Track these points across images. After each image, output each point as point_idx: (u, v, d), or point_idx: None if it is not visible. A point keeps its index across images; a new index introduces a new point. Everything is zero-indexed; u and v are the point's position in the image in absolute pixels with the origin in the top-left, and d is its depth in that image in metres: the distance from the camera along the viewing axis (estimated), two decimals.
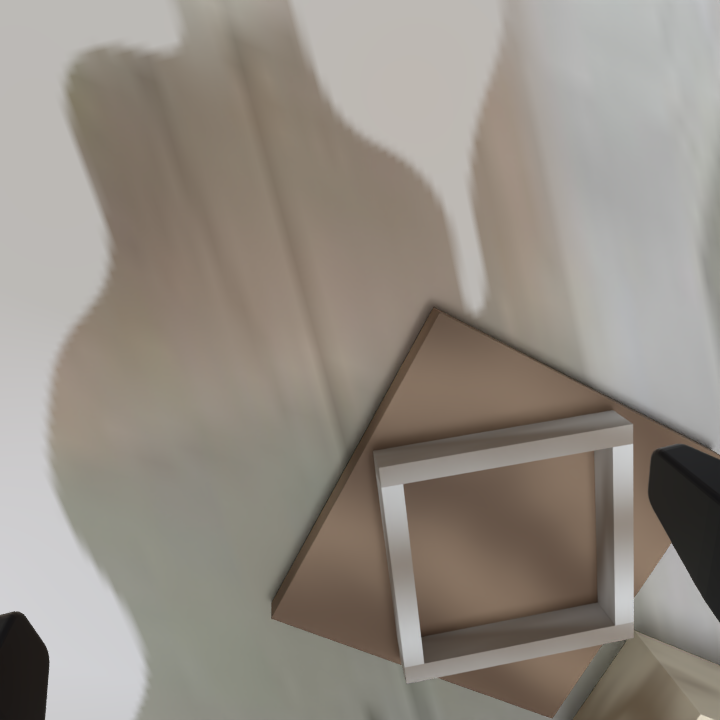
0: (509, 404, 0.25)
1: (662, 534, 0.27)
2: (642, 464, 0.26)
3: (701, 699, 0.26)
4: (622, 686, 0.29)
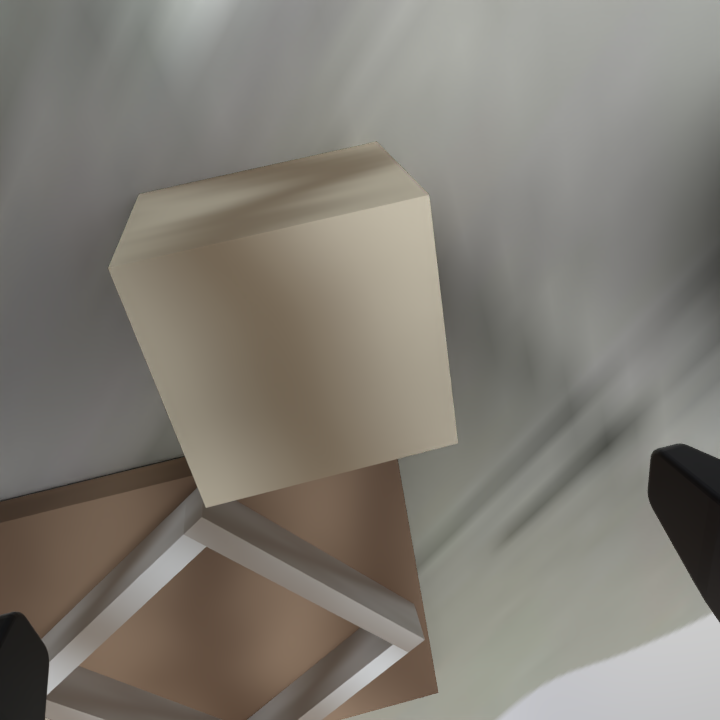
0: None
1: (67, 522, 0.19)
2: (28, 602, 0.20)
3: None
4: None
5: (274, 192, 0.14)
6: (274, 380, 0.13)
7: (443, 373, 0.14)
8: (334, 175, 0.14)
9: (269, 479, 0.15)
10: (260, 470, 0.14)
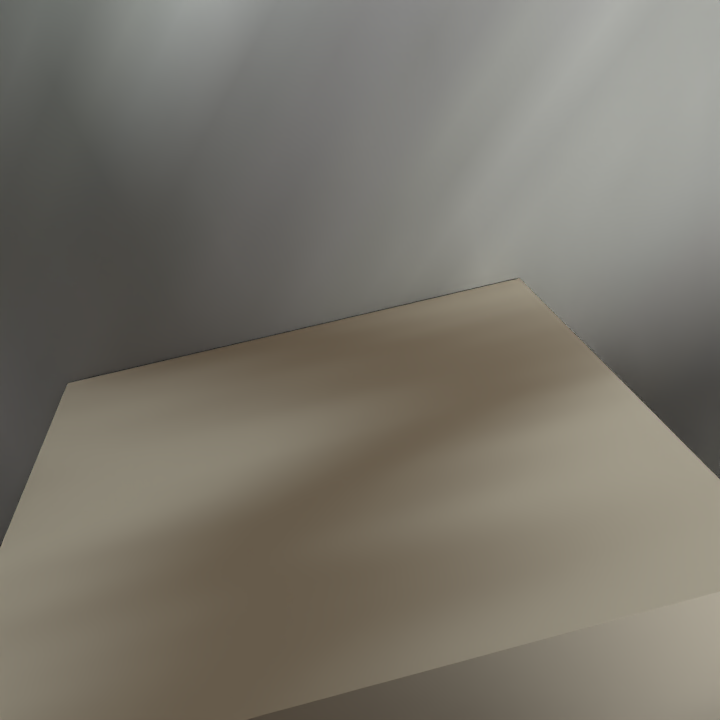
0: None
1: None
2: None
3: None
4: None
5: (344, 445, 0.06)
6: None
7: None
8: (475, 399, 0.06)
9: None
10: None
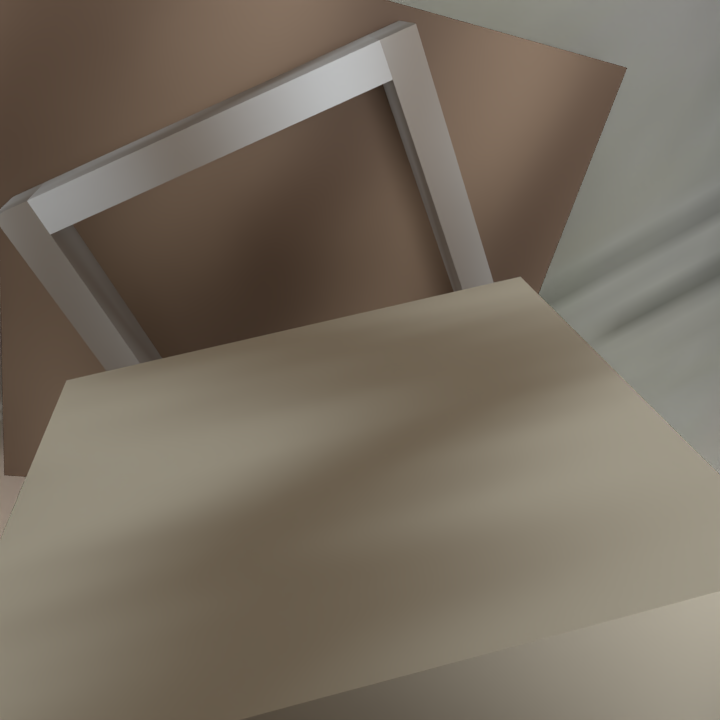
0: (81, 354, 0.17)
1: None
2: (84, 96, 0.14)
3: None
4: None
5: (344, 442, 0.06)
6: None
7: None
8: (476, 397, 0.06)
9: None
10: None
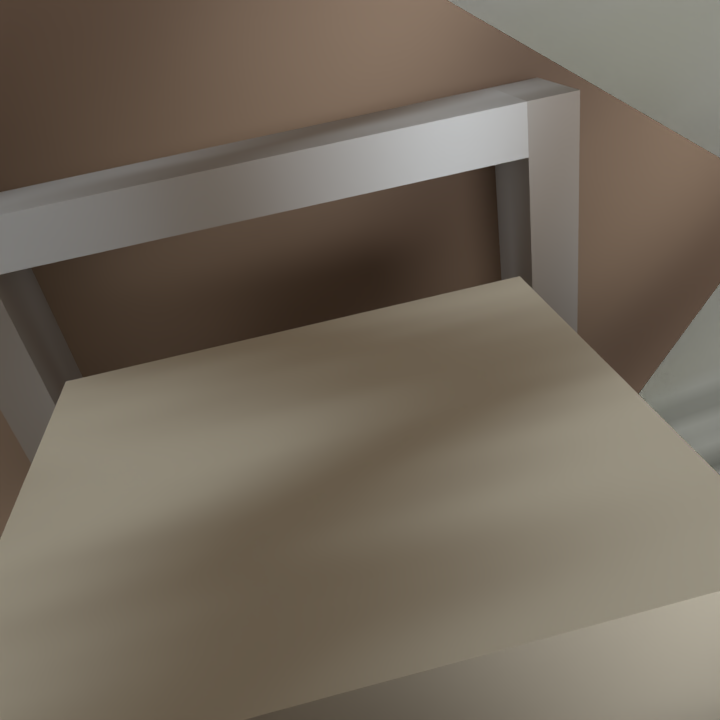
0: (3, 429, 0.12)
1: None
2: (80, 86, 0.09)
3: None
4: None
5: (343, 442, 0.06)
6: None
7: None
8: (475, 397, 0.06)
9: None
10: None
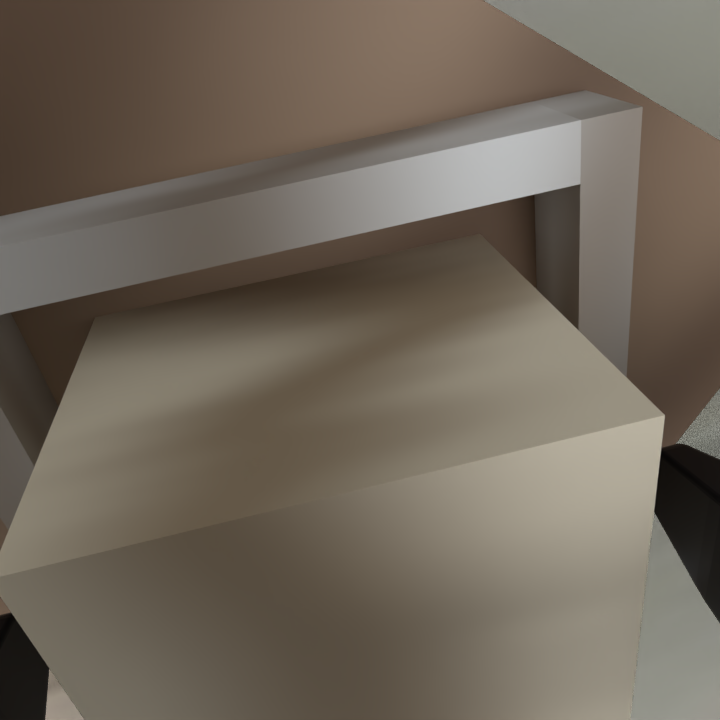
0: None
1: None
2: (62, 101, 0.08)
3: None
4: None
5: (326, 352, 0.08)
6: (326, 715, 0.07)
7: (624, 678, 0.08)
8: (433, 319, 0.08)
9: None
10: None
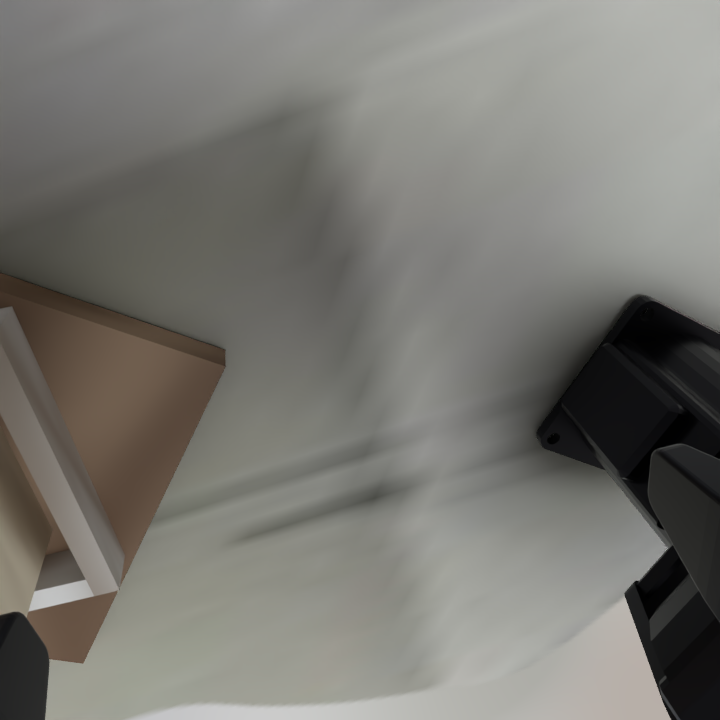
0: None
1: None
2: None
3: None
4: None
5: None
6: None
7: None
8: None
9: None
10: None
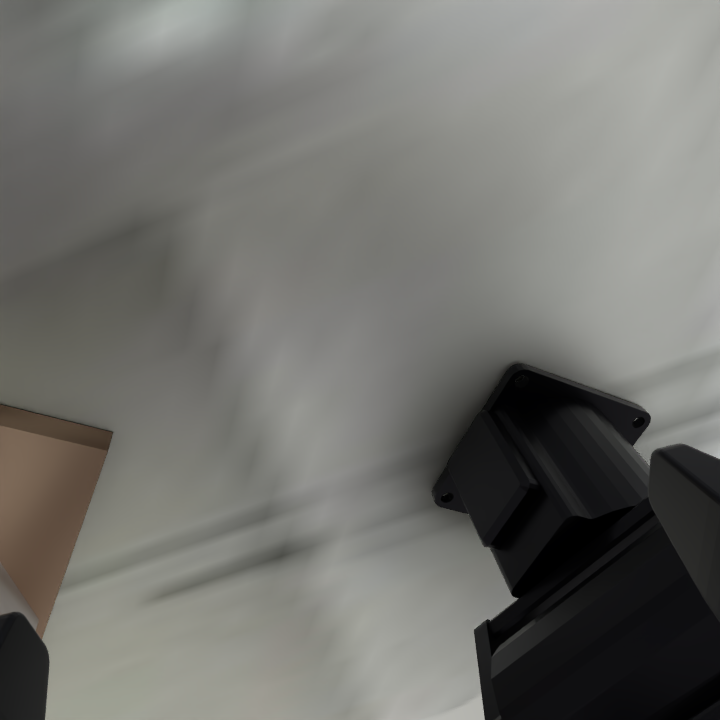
0: None
1: None
2: None
3: None
4: None
5: None
6: None
7: None
8: None
9: None
10: None
